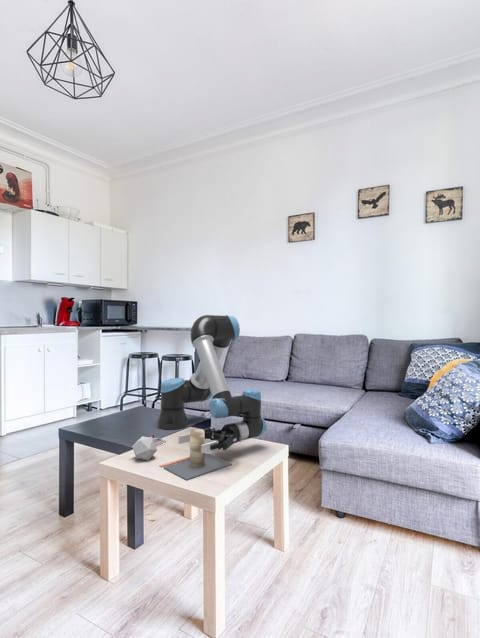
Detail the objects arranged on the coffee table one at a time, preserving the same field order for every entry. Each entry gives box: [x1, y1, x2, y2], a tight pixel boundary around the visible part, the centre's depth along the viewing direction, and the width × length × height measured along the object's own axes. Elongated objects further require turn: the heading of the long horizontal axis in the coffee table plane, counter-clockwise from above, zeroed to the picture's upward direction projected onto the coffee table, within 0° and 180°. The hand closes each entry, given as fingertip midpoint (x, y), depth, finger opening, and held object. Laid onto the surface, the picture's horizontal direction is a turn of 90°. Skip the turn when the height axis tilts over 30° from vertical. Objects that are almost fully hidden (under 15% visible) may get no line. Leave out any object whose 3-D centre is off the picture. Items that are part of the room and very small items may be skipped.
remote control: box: [149, 434, 167, 447], centre depth 159 cm, size 7×16×3 cm, turn 52°
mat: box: [163, 453, 233, 482], centre depth 132 cm, size 20×14×1 cm
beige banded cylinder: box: [189, 428, 206, 468], centre depth 132 cm, size 5×5×12 cm
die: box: [132, 436, 158, 461], centre depth 140 cm, size 8×9×10 cm
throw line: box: [159, 452, 207, 468], centre depth 138 cm, size 20×2×1 cm, turn 133°
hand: (190, 444), depth 130 cm, fingers open, 13 cm apart
